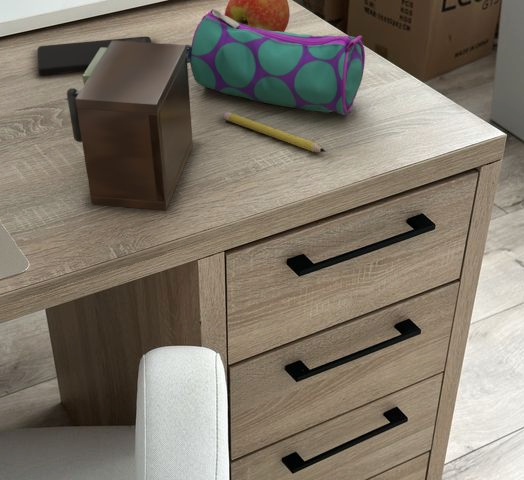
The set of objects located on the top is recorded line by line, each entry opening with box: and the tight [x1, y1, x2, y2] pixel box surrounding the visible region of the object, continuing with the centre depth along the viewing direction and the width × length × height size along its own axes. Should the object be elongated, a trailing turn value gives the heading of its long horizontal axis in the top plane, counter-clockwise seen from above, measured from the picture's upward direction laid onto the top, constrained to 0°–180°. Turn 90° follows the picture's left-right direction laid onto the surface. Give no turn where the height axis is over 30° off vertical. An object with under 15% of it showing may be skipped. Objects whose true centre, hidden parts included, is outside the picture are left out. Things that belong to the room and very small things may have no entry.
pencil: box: [223, 111, 327, 153], centre depth 108 cm, size 1×14×1 cm, turn 54°
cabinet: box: [75, 41, 194, 211], centre depth 99 cm, size 8×13×12 cm, turn 171°
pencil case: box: [185, 9, 366, 116], centre depth 112 cm, size 21×9×10 cm, turn 66°
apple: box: [224, 0, 291, 32], centre depth 124 cm, size 8×8×8 cm
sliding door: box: [66, 47, 107, 143], centre depth 102 cm, size 3×7×11 cm, turn 171°
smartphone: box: [37, 35, 152, 75], centre depth 124 cm, size 7×1×15 cm
